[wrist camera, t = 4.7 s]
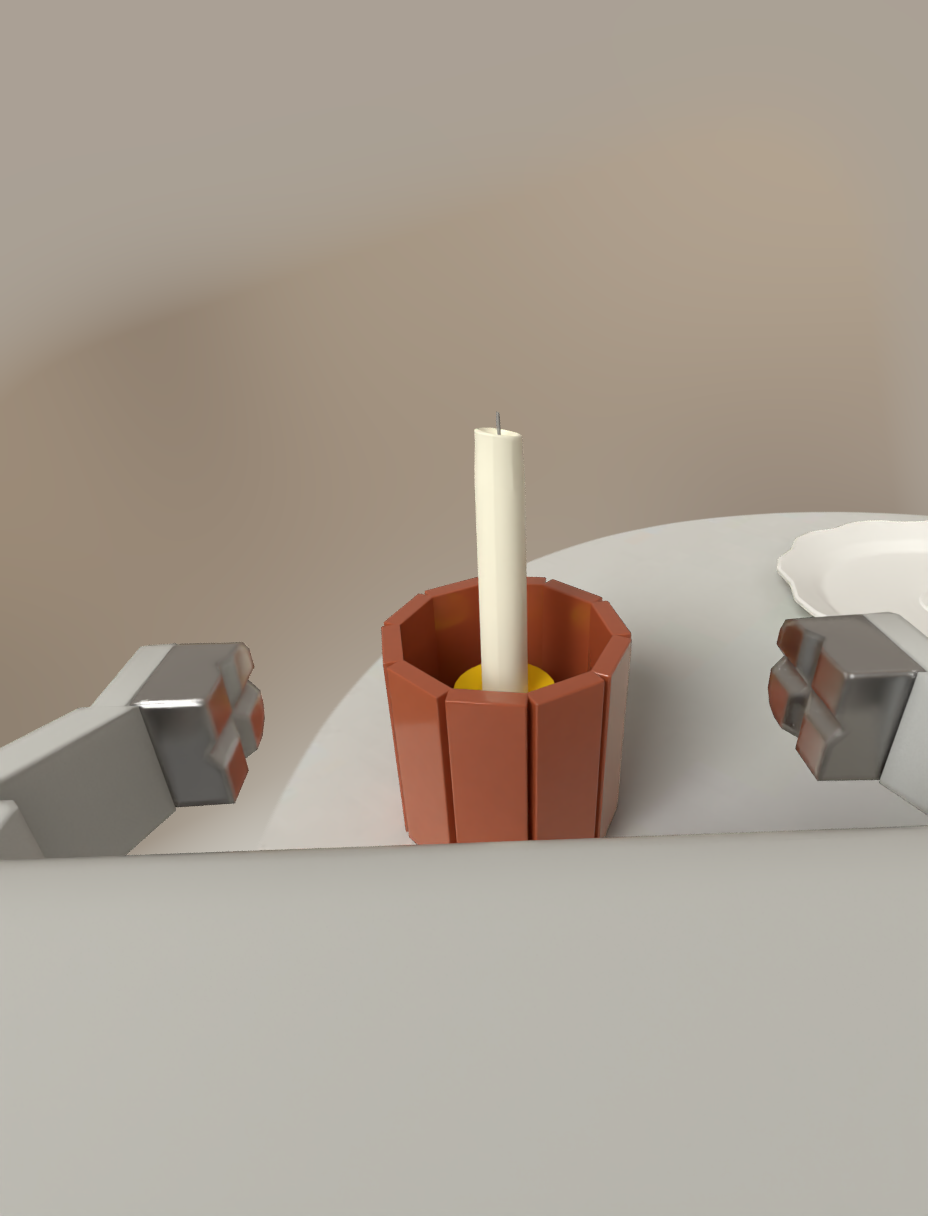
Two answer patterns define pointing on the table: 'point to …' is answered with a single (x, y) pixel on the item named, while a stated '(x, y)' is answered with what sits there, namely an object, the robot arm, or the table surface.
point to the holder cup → (507, 719)
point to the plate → (861, 570)
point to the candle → (501, 567)
